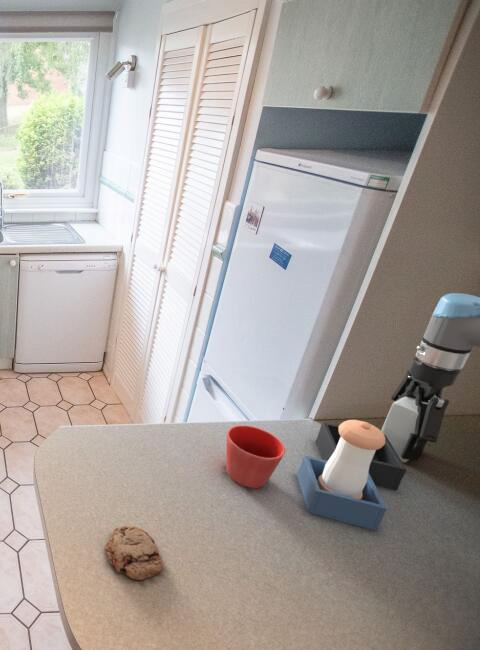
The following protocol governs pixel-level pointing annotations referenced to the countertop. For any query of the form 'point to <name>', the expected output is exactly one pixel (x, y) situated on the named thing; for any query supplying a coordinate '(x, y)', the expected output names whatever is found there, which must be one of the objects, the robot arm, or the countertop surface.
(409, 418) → the small box
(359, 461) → the pepper shaker
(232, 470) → the flower pot
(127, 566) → the cookie
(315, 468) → the blue bin
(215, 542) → the countertop surface
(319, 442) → the charcoal bin
